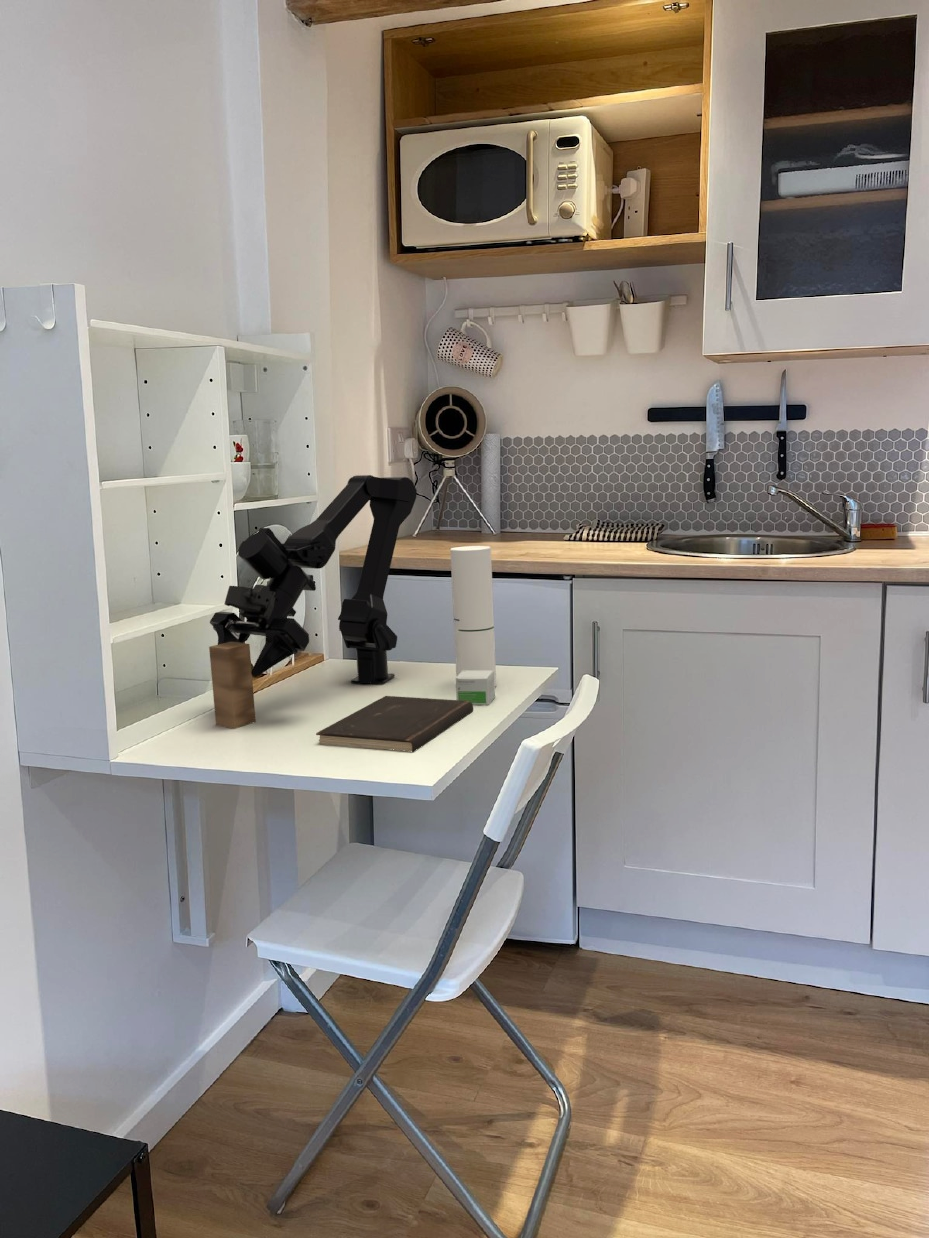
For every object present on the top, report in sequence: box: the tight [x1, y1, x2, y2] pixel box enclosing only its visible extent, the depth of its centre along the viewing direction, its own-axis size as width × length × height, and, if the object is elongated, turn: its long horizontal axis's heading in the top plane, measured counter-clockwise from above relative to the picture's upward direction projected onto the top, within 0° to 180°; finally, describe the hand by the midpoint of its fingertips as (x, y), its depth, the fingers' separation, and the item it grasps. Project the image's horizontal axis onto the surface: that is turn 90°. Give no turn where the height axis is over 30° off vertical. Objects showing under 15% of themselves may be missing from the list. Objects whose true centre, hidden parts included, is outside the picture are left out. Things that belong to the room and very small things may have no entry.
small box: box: [455, 670, 496, 706], centre depth 174 cm, size 6×6×5 cm
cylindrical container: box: [449, 545, 497, 687], centre depth 183 cm, size 7×7×25 cm
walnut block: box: [208, 642, 257, 730], centre depth 166 cm, size 4×4×13 cm
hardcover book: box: [315, 695, 474, 753], centre depth 161 cm, size 16×23×2 cm
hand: (234, 672), depth 166 cm, fingers open, 9 cm apart
